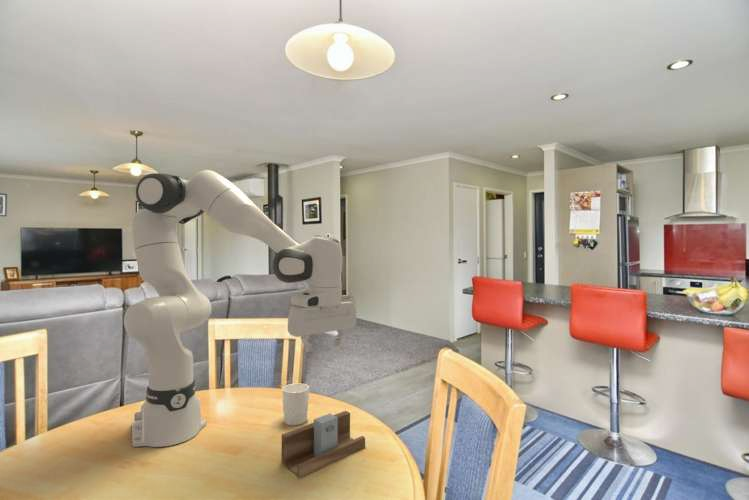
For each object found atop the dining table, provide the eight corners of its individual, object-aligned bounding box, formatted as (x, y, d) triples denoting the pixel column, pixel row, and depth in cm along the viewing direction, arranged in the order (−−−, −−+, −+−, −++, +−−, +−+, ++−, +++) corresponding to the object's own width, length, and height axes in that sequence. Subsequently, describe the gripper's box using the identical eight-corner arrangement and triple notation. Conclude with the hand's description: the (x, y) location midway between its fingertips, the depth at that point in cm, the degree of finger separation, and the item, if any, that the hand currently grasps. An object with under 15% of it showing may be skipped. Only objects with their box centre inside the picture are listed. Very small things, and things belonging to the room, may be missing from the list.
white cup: (303, 427, 113) (303, 393, 113) (277, 425, 114) (277, 391, 114) (312, 416, 120) (312, 384, 120) (288, 413, 122) (289, 382, 122)
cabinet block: (313, 454, 97) (313, 419, 97) (329, 447, 101) (329, 413, 101) (323, 461, 95) (323, 424, 94) (339, 453, 98) (339, 418, 98)
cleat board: (281, 463, 94) (281, 434, 94) (345, 435, 108) (345, 410, 108) (300, 477, 88) (300, 447, 88) (365, 446, 102) (365, 420, 102)
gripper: (347, 292, 113) (346, 340, 113) (285, 298, 99) (283, 352, 99) (362, 295, 108) (360, 344, 108) (298, 301, 94) (296, 357, 94)
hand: (323, 348), depth 104 cm, fingers open, 8 cm apart
